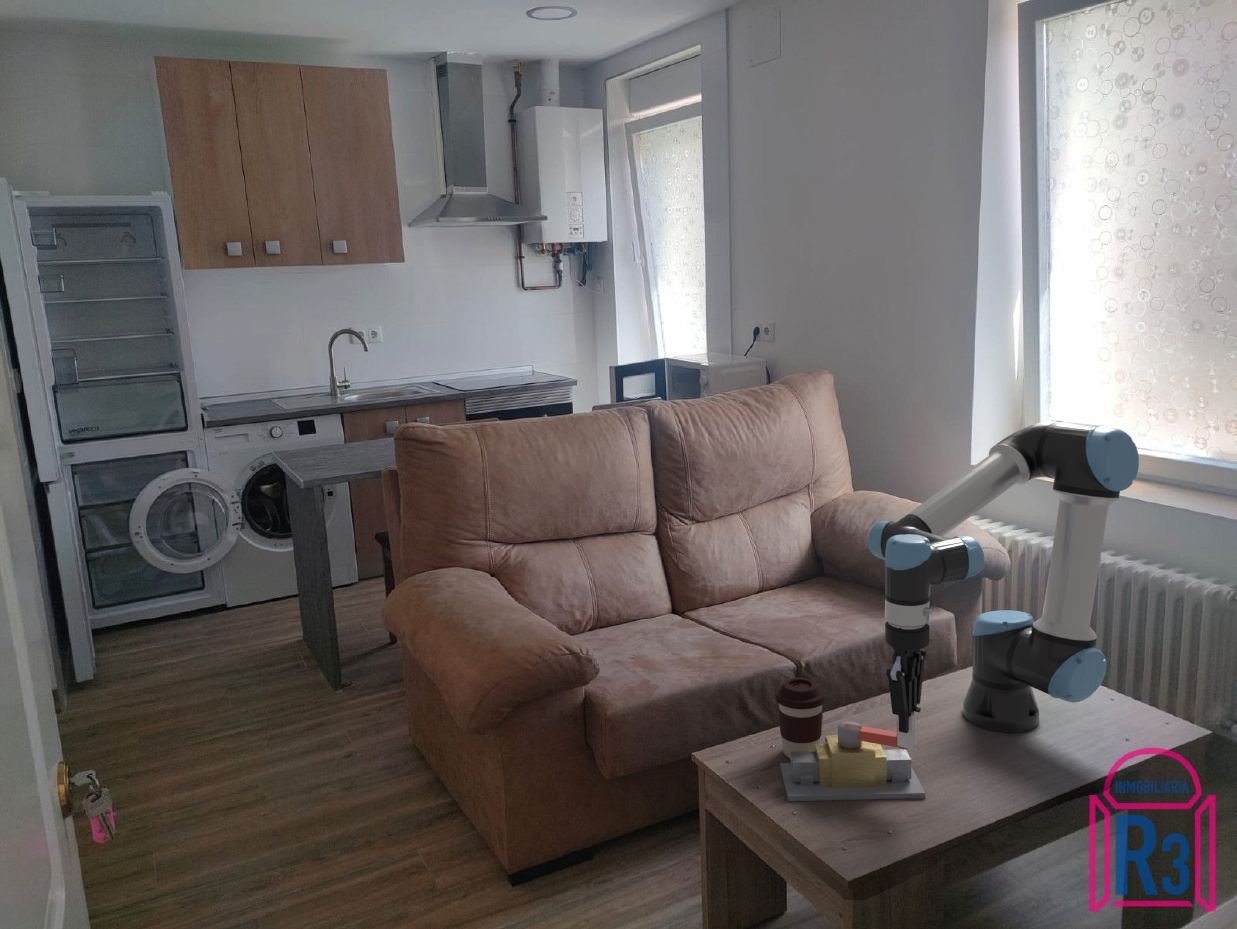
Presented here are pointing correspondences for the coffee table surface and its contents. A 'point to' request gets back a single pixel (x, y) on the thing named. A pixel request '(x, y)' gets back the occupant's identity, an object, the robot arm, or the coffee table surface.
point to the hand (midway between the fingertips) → (906, 746)
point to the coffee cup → (800, 714)
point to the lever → (864, 735)
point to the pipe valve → (850, 765)
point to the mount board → (850, 789)
